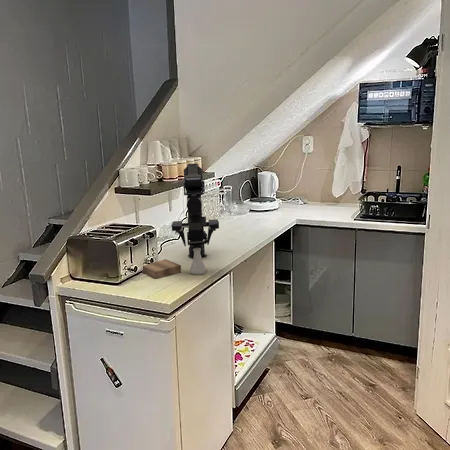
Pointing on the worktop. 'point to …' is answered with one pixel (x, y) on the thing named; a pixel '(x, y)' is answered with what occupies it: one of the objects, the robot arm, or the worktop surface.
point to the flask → (197, 263)
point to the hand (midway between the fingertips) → (196, 245)
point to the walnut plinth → (161, 269)
